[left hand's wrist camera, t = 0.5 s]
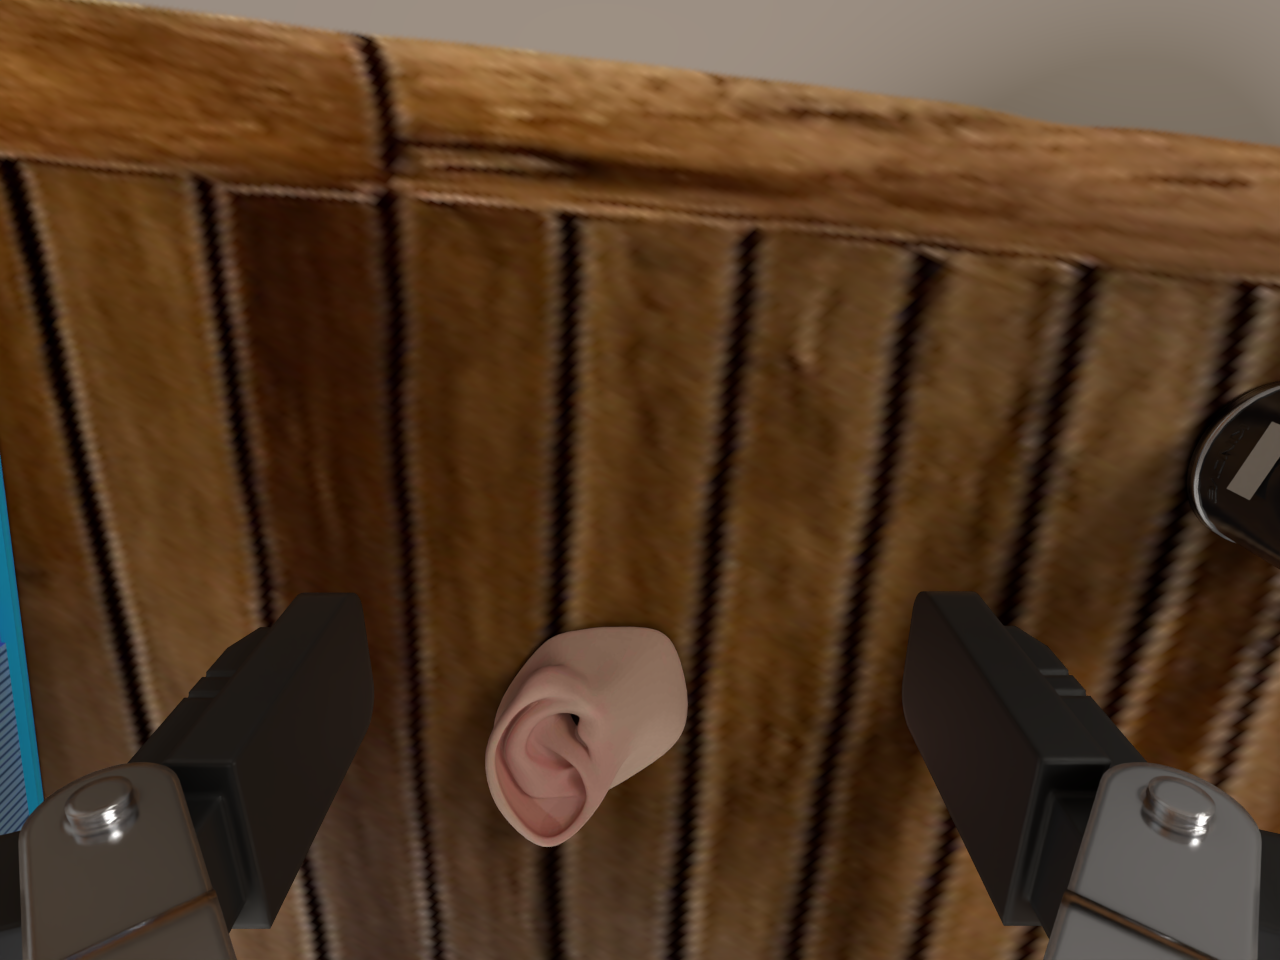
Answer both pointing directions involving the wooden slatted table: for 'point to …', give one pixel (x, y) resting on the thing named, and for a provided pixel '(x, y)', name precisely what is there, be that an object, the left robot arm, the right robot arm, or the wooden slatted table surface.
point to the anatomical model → (582, 726)
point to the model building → (14, 699)
